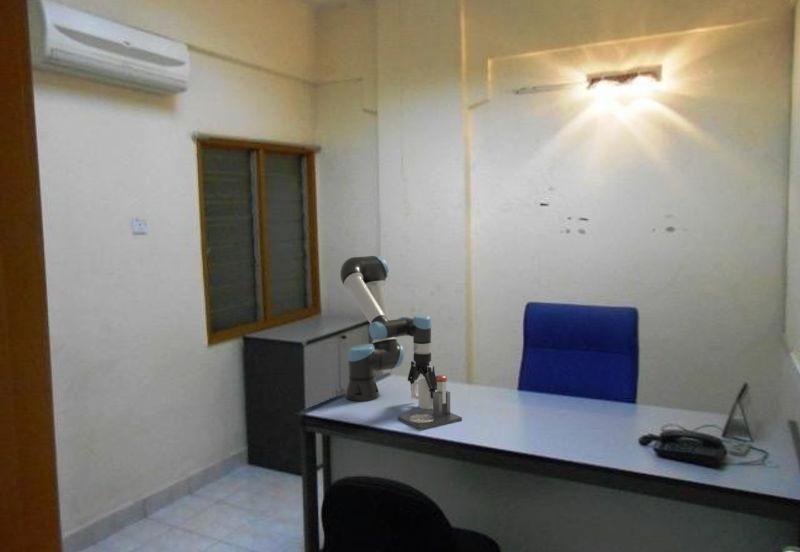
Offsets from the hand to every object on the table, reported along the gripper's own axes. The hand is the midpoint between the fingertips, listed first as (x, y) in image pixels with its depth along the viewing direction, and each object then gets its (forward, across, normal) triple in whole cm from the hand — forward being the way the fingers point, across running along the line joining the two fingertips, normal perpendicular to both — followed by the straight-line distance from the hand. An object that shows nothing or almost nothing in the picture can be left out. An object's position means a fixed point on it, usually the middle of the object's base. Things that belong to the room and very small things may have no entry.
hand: (422, 401), depth 258 cm
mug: (+2, 0, 0) cm, 2 cm away
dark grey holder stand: (+2, +16, -8) cm, 18 cm away
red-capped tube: (-4, +16, -2) cm, 17 cm away
